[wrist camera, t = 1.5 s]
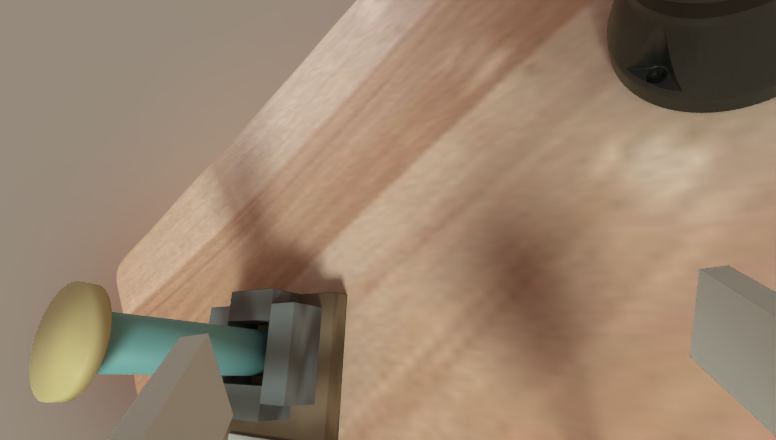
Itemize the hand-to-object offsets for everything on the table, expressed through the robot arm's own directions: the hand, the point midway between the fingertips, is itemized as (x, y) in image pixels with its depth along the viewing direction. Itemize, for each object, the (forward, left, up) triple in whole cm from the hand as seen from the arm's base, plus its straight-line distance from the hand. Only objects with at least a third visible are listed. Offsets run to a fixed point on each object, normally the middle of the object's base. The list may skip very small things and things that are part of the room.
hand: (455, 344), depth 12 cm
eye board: (+7, -31, -25) cm, 40 cm away
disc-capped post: (0, -31, -23) cm, 39 cm away
